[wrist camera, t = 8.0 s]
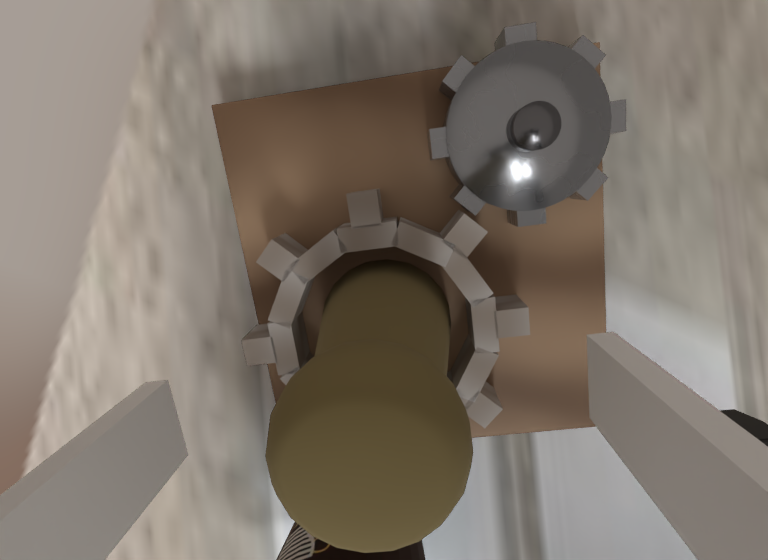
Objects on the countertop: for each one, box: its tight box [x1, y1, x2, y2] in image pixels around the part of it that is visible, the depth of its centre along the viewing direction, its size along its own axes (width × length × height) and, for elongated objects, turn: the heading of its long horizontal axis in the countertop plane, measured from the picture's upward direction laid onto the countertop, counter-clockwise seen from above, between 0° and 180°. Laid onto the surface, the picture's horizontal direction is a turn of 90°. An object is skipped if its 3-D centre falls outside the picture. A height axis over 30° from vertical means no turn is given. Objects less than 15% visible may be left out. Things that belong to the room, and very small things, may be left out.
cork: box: [265, 259, 473, 553], centre depth 15 cm, size 6×6×11 cm
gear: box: [427, 22, 626, 227], centre depth 16 cm, size 7×7×3 cm
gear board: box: [212, 42, 606, 438], centre depth 19 cm, size 17×16×4 cm
